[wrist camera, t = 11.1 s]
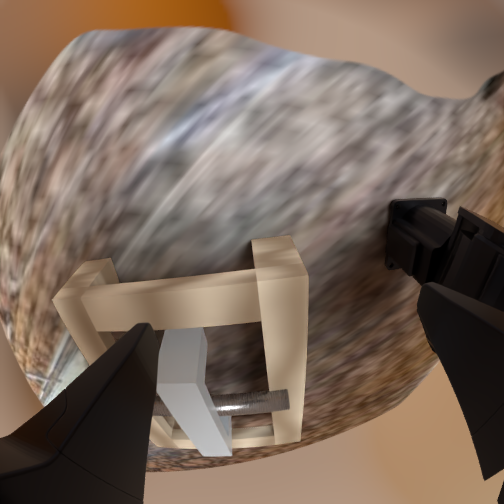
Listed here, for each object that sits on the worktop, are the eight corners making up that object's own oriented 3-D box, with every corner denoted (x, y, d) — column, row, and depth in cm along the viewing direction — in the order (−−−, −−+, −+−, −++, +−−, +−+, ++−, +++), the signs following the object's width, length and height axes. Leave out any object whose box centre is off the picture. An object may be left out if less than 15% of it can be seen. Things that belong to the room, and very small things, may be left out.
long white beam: (202, 325, 20) (195, 383, 15) (231, 413, 26) (232, 455, 21) (165, 328, 20) (151, 383, 15) (205, 414, 26) (203, 456, 21)
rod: (286, 383, 21) (289, 402, 19) (286, 395, 22) (289, 413, 20) (123, 389, 21) (118, 406, 19) (132, 401, 22) (128, 417, 20)
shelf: (289, 235, 21) (308, 274, 15) (292, 403, 32) (300, 441, 26) (84, 261, 21) (51, 299, 15) (162, 411, 31) (157, 446, 26)
